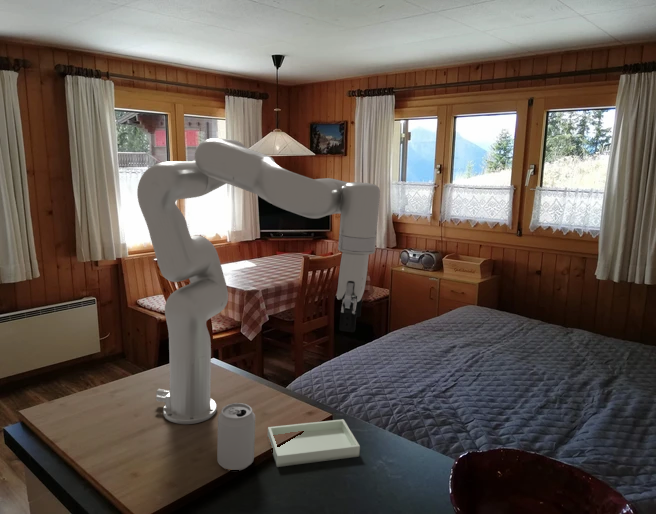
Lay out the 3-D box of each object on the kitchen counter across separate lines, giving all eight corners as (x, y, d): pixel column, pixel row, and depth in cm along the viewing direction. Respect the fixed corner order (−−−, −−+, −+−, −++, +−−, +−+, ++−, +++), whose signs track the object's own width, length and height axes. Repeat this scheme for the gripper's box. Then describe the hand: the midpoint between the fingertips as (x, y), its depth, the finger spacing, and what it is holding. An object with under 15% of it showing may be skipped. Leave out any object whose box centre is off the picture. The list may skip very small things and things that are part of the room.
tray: (277, 466, 105) (277, 456, 104) (267, 437, 115) (267, 427, 115) (359, 456, 110) (359, 446, 109) (342, 428, 120) (343, 419, 120)
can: (246, 476, 101) (247, 421, 99) (211, 469, 102) (211, 415, 100) (258, 455, 108) (260, 403, 106) (225, 449, 110) (226, 398, 107)
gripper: (344, 235, 113) (339, 309, 116) (331, 249, 96) (325, 335, 99) (378, 238, 111) (371, 313, 115) (371, 253, 95) (363, 340, 98)
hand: (350, 323), depth 107 cm, fingers open, 9 cm apart
